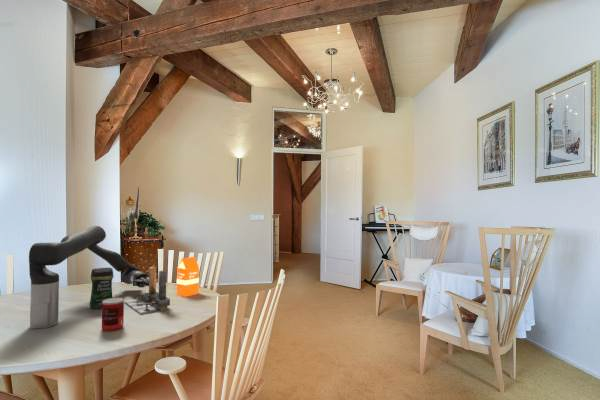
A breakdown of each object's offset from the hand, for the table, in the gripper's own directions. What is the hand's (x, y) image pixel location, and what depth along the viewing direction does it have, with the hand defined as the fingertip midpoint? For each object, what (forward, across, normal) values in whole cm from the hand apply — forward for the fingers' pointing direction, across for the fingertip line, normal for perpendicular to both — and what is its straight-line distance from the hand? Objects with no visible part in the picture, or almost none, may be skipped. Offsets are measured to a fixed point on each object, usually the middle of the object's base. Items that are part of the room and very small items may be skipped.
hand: (151, 284), depth 174 cm
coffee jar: (-8, -20, +9) cm, 24 cm away
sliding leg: (+2, -2, +8) cm, 8 cm away
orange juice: (-4, +21, +9) cm, 23 cm away
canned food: (+28, -24, +9) cm, 38 cm away
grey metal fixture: (+5, -4, +9) cm, 11 cm away
